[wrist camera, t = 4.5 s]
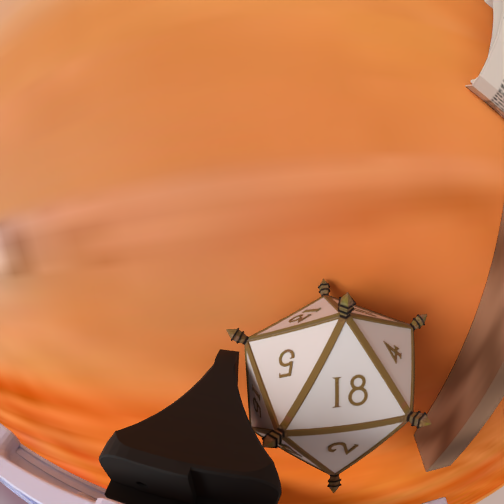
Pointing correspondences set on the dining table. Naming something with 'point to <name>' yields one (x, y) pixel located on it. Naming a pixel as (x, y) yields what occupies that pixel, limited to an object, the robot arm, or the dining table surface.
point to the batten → (470, 378)
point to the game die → (331, 382)
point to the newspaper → (493, 64)
